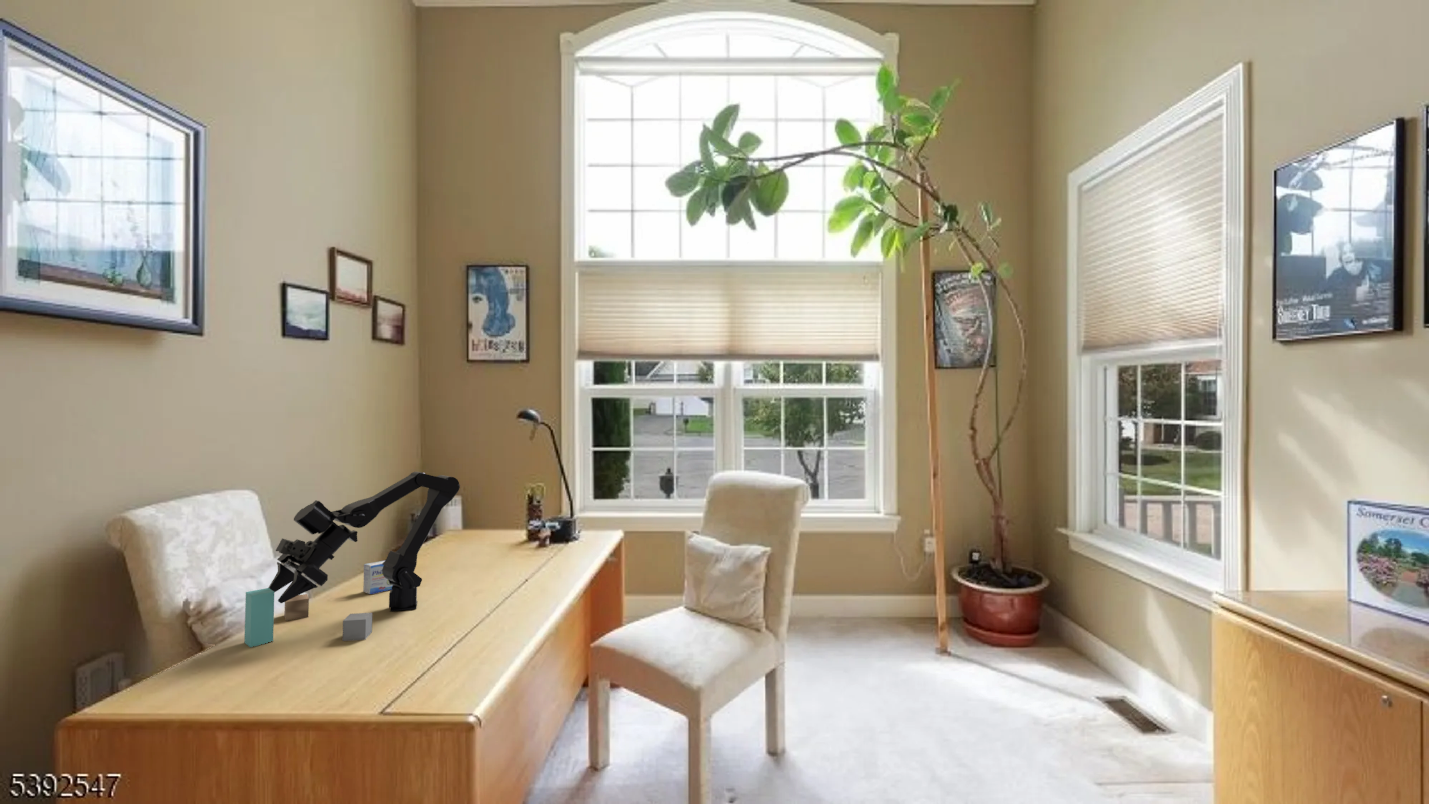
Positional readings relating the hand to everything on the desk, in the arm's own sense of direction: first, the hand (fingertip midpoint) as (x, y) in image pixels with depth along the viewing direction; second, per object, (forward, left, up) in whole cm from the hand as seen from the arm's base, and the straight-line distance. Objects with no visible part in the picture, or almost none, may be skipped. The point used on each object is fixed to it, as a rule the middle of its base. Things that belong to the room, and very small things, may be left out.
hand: (273, 598), depth 148 cm
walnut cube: (-2, -17, -10) cm, 20 cm away
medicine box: (-20, -35, -10) cm, 41 cm away
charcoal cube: (-19, +5, -10) cm, 22 cm away
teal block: (+2, +1, -10) cm, 10 cm away
